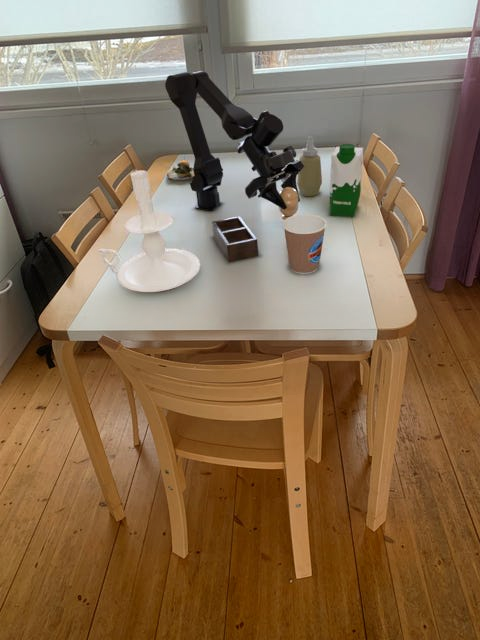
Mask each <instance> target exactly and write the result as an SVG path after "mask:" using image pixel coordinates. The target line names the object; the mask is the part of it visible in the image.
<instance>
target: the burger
mask: <svg viewBox="0 0 480 640" xmlns="http://www.w3.org/2000/svg"><path fill="white" fill-rule="evenodd" d="M185 158H186V157H185V156H184V159H183V160H181V161H178V162H177V167H176V166H173V167H172V170H170V171H169V172H167V174H166V177H167V178H169V179H171V180H174V181H186V180H190V179H193V178H194V177H195V175H194V170H193V167H190V166H191V165H190V163H189V161H188V160H186V159H185Z"/></svg>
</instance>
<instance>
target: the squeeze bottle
mask: <svg viewBox="0 0 480 640" xmlns="http://www.w3.org/2000/svg"><path fill="white" fill-rule="evenodd" d="M298 160H299V161H301V162H302V164H303V165H304V168H303V169H302V170H301V171H300V172H299V173H298V175H297V179H296V185H297V189H298V191H299V193H300V194H301V195H302V196H304V197H314V196H317V195H318V194H319V192H320V189H321V187H322V184H323V178H322V177H323V175H322V162H321V156H320V155H319V154H318V148H317V147H315V145H314V139H313V136H308V137H307V142H306V145H305V147H303V148H302V155H300V156H299V159H298Z"/></svg>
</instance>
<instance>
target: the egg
mask: <svg viewBox="0 0 480 640" xmlns="http://www.w3.org/2000/svg"><path fill="white" fill-rule="evenodd" d="M279 194H280V196H281V197H282V199H283V200H284V202H285V204H286V206H287V208H286V209H285V210H284V209H282V208H280V207H279V206H278V210H279V212H280V214H281V215H282V216H281V219H282V220H283V221H284V220H285V219H287V218H289V217H291V216H294V215H296V213H297V212H298V210H299V202H298V194H299V192H298V193H297V191H296V190H295V189H294V188H292V187H285V188H282V189H281V190H280V191H279Z"/></svg>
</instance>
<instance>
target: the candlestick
mask: <svg viewBox="0 0 480 640" xmlns="http://www.w3.org/2000/svg"><path fill="white" fill-rule="evenodd" d="M129 175H130V179H131V184H132V190H133V192H134V197H135V202H137V204H138V209H139V213H140V214H137V215H134V216H132V217H130V218H128V220H127V221H125V222H124V229H125V230H126V231H127V232H129V233H132V234H141V235H143V234H144V235H143V238H142V241H141V248H142V251H143V252H142V253H138V254H137V255H134V256H132V257H130V258H129V259H128V260H126V261H125V262H124V263H123V264H121V266H120V267H119V268H118V269H116V267H117V266H118V265H119V264H120V263H121V256H120V254H119V253H118V251H116V250H114V249H111V248H107V249H105V248H102V247H101V248H98V249H97V251H98V252H100V253H101V260H102V262H103V263H104V264H105V265H107V266H108V267H109V268H110V270H111V271H112V273H115V274H116V280H117V282H118V283H119V285H120V286H122V287H123V288H125V289H127V290H130V291H133V292H139V293H158V292H165V291H168V290H171V289H175V288H177V287H180V286H182V285H185V284H186V283H188V282H189V281H191V280H193V279H194V278H195V277H196V275H197V274H198V273H199V271H200V269H201V261H200V259H199V257H197V256H196V255H195V253H193V252H190V251H188V250H184V249H181V248H179V249H178V248H167V242H166V239H165V238H164V237H163V235H162V234H161V233H160V231H163V230H165V229H167V228H170V226H172V224H173V223H174V222H175V218H174V216H173V215H172V214H170V213H167V212H164V211H155V209H154V206H153V205H154V204H153V200H152V194H151V190H152V187H151V183H150V179H149V173H148V171H147V170H143V169H141V170H137V169H135V171H132V172H131V173H130V174H129ZM107 254H113V256H115V257H116V262H110V261H109V260H107V258H106V255H107Z"/></svg>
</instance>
